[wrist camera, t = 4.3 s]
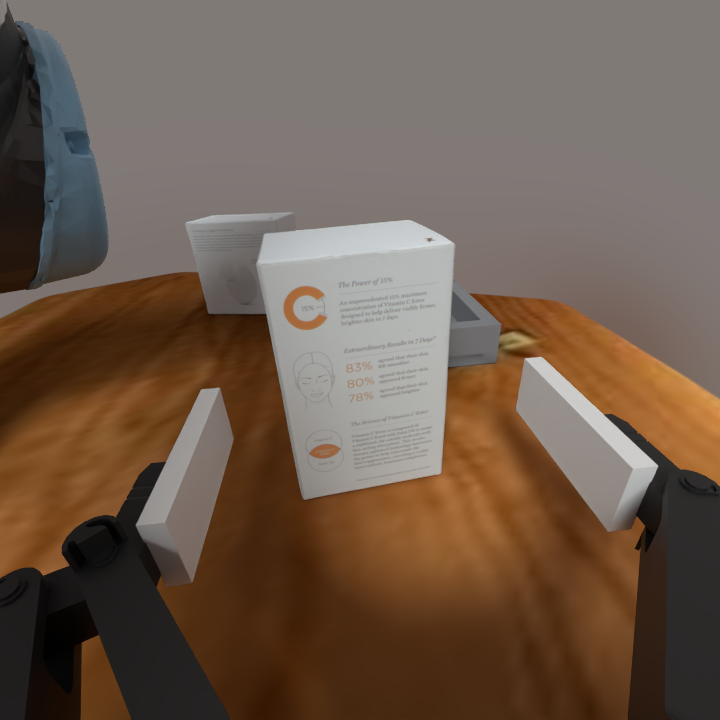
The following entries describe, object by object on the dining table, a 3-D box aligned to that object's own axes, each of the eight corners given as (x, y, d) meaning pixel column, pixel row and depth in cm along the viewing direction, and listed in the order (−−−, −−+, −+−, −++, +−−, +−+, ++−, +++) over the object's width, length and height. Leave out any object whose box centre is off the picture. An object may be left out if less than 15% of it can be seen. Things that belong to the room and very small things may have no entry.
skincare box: (306, 296, 50) (295, 209, 45) (290, 315, 44) (276, 219, 39) (230, 295, 51) (212, 212, 46) (206, 314, 46) (182, 222, 41)
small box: (410, 411, 27) (412, 217, 21) (443, 477, 22) (460, 241, 15) (295, 429, 26) (260, 230, 20) (299, 503, 21) (254, 261, 14)
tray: (324, 379, 32) (320, 341, 30) (322, 313, 44) (318, 283, 42) (496, 362, 32) (501, 324, 31) (445, 302, 45) (447, 273, 43)
